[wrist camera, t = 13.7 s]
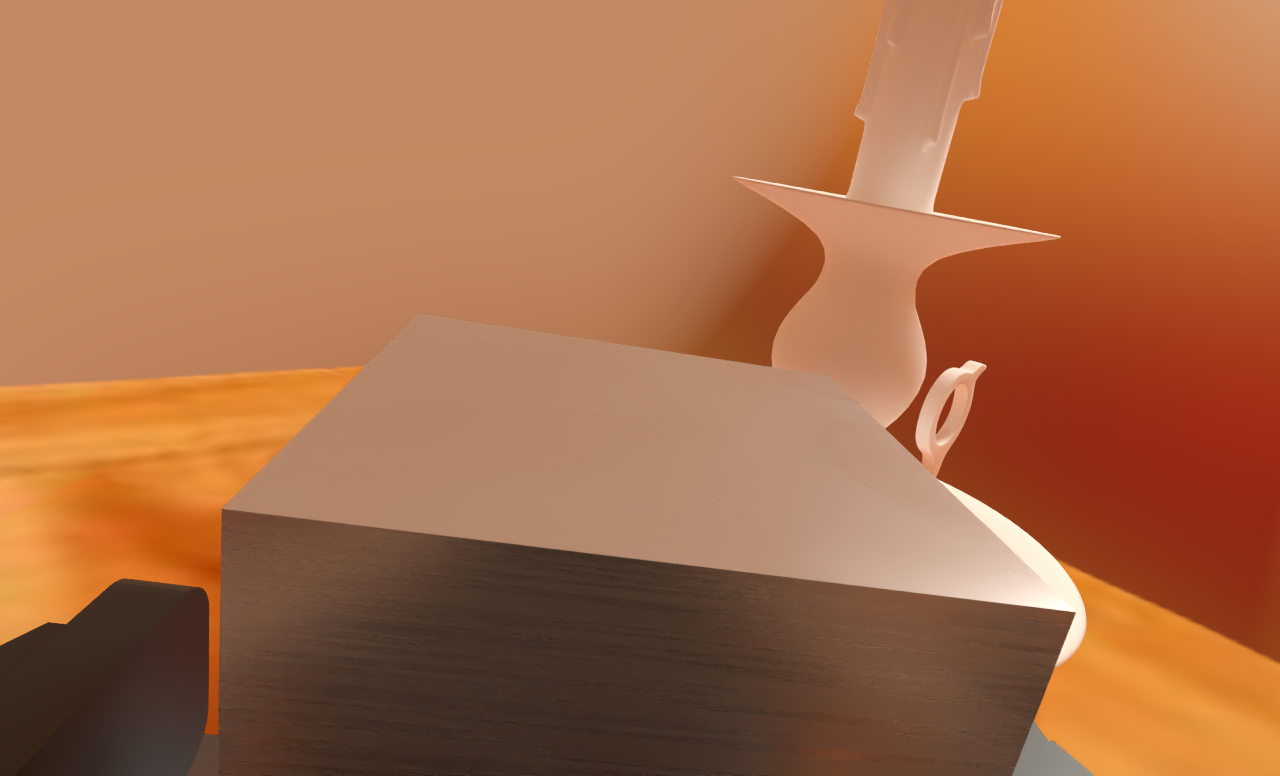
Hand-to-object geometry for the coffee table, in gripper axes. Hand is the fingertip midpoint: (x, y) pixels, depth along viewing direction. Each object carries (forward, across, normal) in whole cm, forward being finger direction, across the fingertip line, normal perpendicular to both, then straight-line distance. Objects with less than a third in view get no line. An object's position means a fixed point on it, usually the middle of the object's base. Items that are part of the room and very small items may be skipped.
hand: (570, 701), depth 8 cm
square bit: (-2, 0, +10) cm, 10 cm away
